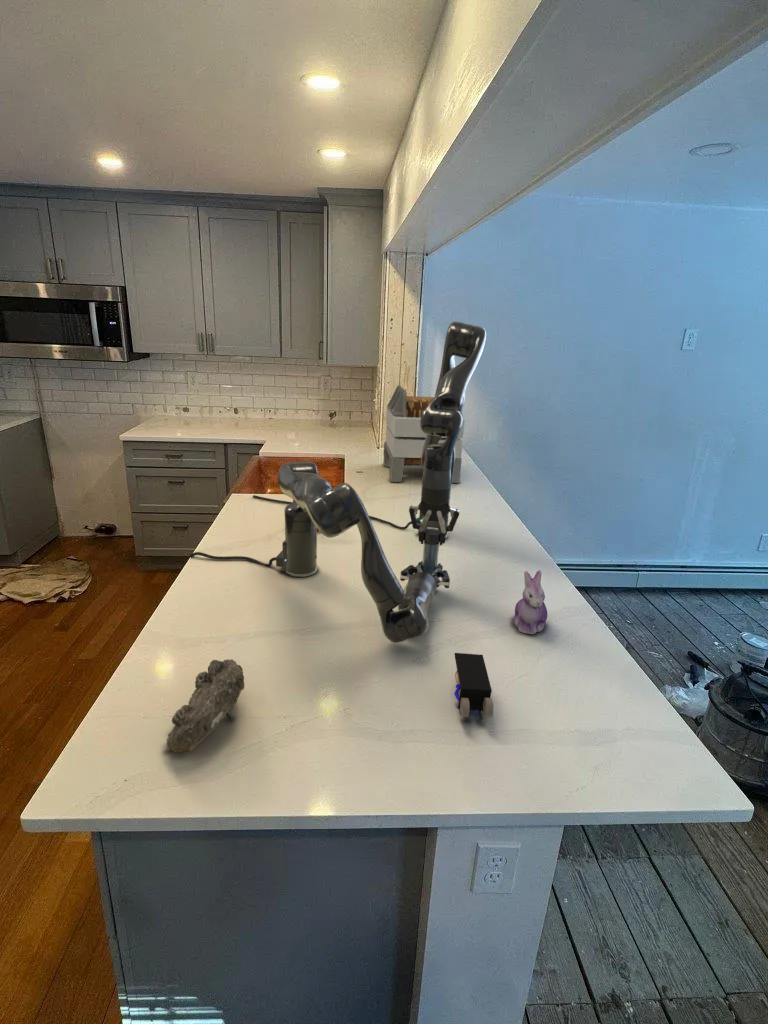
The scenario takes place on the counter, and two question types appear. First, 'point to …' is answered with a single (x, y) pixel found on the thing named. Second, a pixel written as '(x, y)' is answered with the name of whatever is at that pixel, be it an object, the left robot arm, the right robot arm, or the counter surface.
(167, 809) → the counter surface
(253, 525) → the counter surface
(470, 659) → the black toy cart
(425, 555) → the grey cylinder
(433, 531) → the lid
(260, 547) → the counter surface
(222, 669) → the fossil
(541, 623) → the figurine
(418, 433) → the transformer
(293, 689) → the counter surface
